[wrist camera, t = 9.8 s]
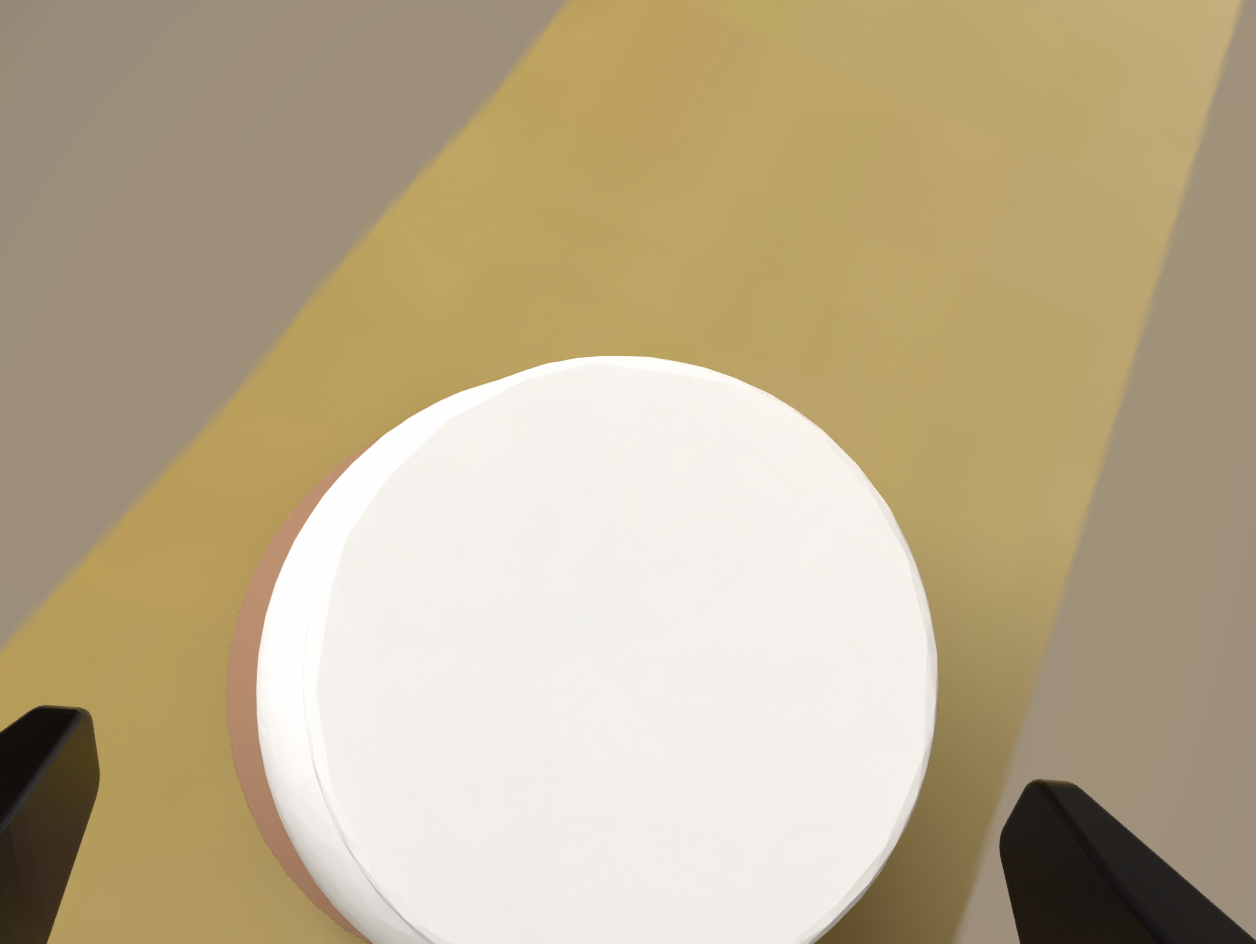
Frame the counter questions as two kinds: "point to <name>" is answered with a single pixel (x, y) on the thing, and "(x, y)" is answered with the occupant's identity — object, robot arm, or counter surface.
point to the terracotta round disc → (245, 699)
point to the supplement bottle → (598, 669)
